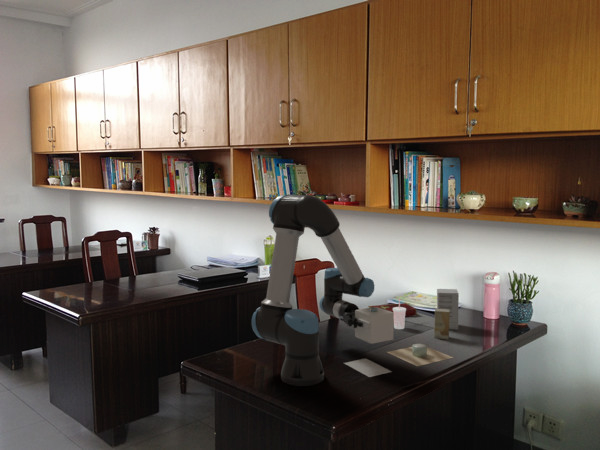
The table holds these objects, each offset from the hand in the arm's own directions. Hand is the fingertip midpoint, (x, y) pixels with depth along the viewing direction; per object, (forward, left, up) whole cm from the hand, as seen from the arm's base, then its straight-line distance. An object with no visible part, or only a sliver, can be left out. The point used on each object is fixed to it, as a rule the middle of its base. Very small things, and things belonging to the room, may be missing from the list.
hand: (381, 324), depth 193 cm
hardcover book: (+52, +58, -18) cm, 80 cm away
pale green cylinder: (+22, +4, -16) cm, 28 cm away
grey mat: (0, +4, -17) cm, 17 cm away
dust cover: (0, +4, -6) cm, 7 cm away
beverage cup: (+40, +38, -17) cm, 58 cm away
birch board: (+22, +4, -17) cm, 28 cm away
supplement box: (+60, +28, -17) cm, 68 cm away
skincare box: (+46, +17, -17) cm, 52 cm away
